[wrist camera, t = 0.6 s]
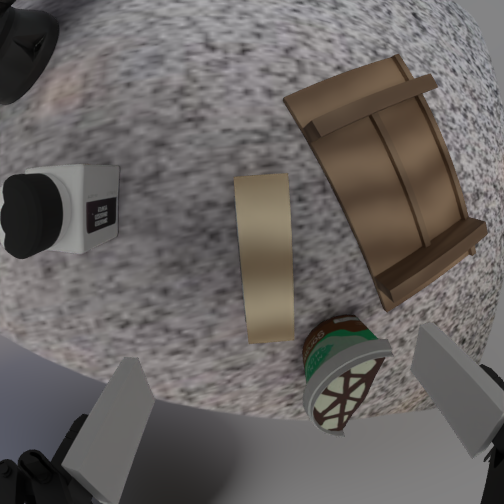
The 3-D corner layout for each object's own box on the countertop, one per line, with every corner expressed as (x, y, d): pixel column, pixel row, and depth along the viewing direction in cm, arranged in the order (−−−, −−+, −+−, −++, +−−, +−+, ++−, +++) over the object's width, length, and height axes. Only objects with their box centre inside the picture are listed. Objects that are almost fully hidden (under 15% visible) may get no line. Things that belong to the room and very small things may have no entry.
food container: (310, 294, 30) (335, 345, 20) (359, 303, 30) (396, 350, 20) (280, 379, 33) (288, 439, 23) (324, 384, 33) (342, 439, 23)
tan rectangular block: (235, 177, 27) (231, 177, 20) (279, 174, 27) (289, 173, 20) (247, 308, 30) (246, 344, 23) (286, 305, 30) (296, 339, 23)
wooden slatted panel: (282, 100, 24) (289, 84, 20) (392, 58, 23) (412, 43, 18) (383, 308, 30) (401, 328, 25) (467, 249, 29) (491, 259, 24)
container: (121, 165, 26) (41, 162, 13) (118, 236, 28) (45, 275, 15) (66, 167, 26) (-15, 171, 13) (66, 232, 28) (-11, 263, 15)
